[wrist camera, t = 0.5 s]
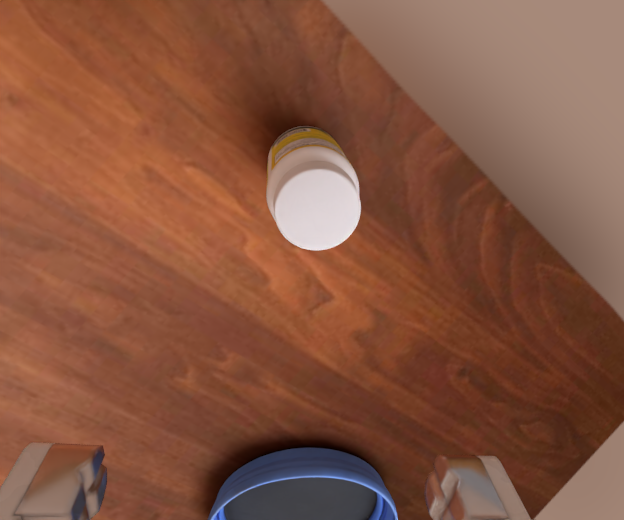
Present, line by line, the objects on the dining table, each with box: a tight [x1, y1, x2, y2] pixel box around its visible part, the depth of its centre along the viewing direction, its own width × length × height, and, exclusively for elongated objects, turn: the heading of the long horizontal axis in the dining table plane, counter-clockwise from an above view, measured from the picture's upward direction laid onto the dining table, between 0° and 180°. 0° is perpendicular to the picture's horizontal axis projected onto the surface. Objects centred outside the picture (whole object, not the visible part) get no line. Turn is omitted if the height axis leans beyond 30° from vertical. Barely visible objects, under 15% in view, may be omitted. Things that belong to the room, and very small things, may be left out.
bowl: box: [208, 448, 398, 520], centre depth 41 cm, size 18×18×4 cm
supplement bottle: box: [266, 126, 361, 250], centre depth 23 cm, size 5×5×8 cm
